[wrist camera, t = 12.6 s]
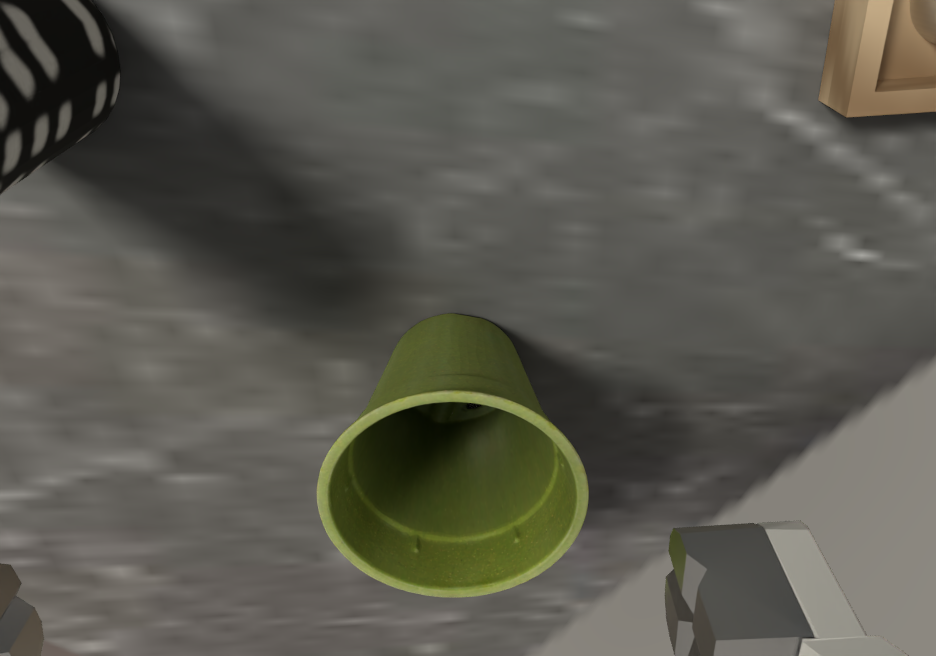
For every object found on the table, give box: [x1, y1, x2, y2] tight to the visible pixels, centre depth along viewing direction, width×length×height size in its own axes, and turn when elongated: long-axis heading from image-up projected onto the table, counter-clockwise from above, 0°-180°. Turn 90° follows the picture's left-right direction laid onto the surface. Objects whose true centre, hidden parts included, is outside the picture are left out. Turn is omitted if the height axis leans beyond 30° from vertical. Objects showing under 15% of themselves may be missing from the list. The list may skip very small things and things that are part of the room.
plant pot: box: [317, 313, 589, 597], centre depth 38 cm, size 12×12×11 cm
